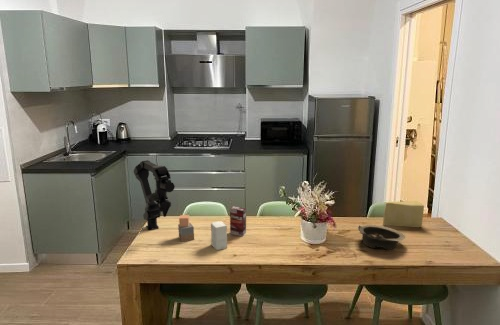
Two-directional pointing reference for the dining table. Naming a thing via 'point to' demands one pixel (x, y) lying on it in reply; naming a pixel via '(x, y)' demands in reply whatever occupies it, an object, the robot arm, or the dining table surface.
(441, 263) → the dining table surface
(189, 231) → the tower top
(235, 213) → the supplement box
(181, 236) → the tower base
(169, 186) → the robot arm
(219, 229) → the small box
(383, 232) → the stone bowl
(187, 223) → the terracotta cube
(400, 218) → the cheese
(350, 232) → the dining table surface
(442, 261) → the dining table surface
